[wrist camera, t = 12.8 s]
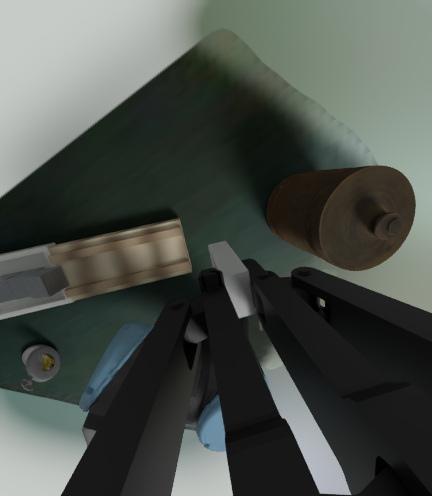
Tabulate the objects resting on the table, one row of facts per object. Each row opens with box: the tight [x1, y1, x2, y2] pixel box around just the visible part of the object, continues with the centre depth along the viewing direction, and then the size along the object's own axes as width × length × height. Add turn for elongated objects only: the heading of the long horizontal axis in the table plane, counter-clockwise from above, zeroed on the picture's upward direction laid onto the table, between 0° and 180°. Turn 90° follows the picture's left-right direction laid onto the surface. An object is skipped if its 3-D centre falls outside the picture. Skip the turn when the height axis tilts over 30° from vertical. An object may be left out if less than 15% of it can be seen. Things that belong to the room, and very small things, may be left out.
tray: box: [0, 242, 75, 320], centre depth 40 cm, size 16×12×2 cm
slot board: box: [48, 218, 192, 301], centre depth 41 cm, size 24×11×4 cm, turn 101°
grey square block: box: [6, 267, 45, 300], centre depth 39 cm, size 4×4×4 cm
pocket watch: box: [21, 345, 60, 391], centre depth 41 cm, size 8×8×10 cm
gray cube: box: [21, 266, 69, 299], centre depth 37 cm, size 4×4×4 cm
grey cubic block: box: [0, 271, 22, 303], centre depth 38 cm, size 4×4×4 cm
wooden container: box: [266, 166, 416, 271], centre depth 35 cm, size 15×15×22 cm
